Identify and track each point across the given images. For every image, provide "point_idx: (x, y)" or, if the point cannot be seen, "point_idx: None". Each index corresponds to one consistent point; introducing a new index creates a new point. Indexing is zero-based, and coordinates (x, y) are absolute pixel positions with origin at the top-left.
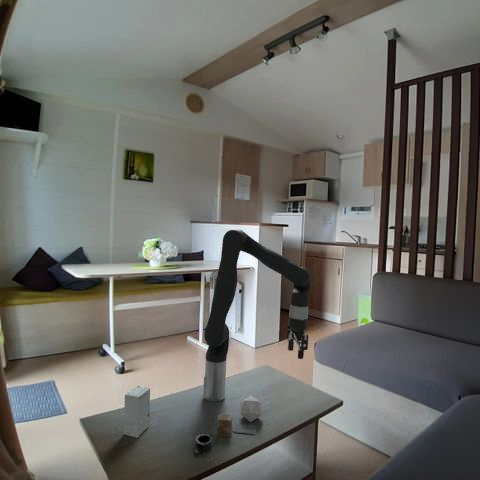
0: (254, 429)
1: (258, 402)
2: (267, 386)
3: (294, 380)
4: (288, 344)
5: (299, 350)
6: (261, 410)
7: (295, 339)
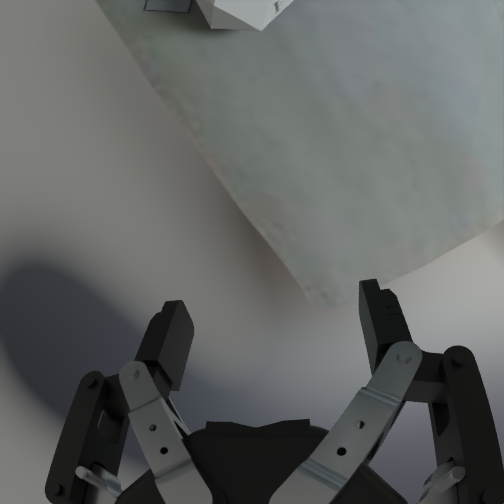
0: (168, 6)
1: (213, 8)
2: (457, 130)
3: (464, 238)
4: (385, 319)
5: (145, 359)
6: (226, 28)
7: (173, 441)
